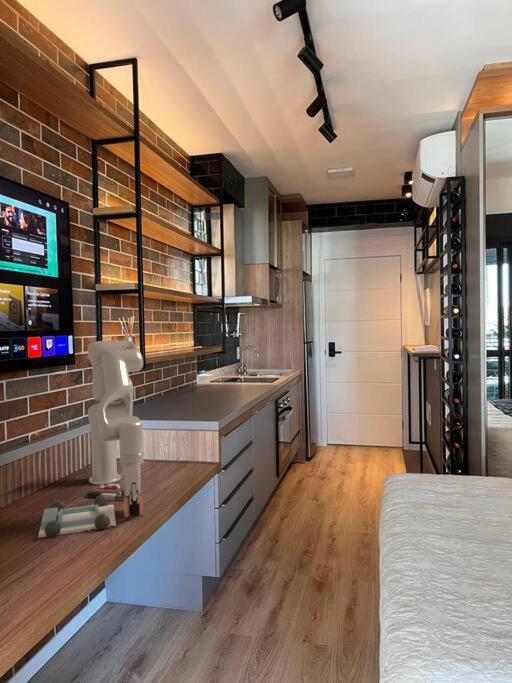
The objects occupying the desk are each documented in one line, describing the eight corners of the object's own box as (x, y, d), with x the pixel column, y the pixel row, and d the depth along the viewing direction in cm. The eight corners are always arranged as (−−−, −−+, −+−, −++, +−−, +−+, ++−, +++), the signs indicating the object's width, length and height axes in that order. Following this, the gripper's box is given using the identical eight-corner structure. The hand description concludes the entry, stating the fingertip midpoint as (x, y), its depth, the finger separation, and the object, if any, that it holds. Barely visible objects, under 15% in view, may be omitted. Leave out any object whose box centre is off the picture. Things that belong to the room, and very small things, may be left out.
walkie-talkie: (83, 500, 180) (134, 502, 176) (82, 488, 180) (133, 490, 176) (95, 492, 189) (144, 494, 185) (95, 481, 189) (144, 482, 185)
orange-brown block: (123, 513, 166) (123, 498, 166) (142, 510, 168) (141, 495, 167) (124, 518, 161) (124, 502, 161) (143, 515, 163) (143, 500, 163)
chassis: (44, 515, 165) (44, 502, 165) (113, 506, 172) (113, 493, 172) (38, 539, 146) (37, 524, 146) (116, 528, 153) (115, 513, 152)
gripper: (118, 453, 171) (120, 504, 171) (121, 466, 154) (123, 522, 155) (140, 451, 173) (142, 501, 174) (146, 463, 157) (147, 519, 157)
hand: (133, 511), depth 164 cm, fingers open, 7 cm apart
